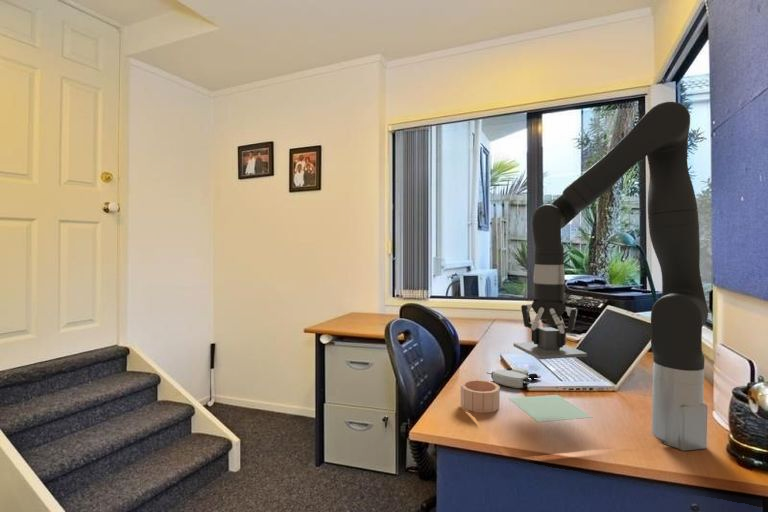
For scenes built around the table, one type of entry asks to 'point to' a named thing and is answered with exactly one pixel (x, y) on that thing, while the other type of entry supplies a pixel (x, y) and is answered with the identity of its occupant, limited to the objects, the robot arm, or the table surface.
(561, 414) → the mat
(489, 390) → the bowl
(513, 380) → the robot toy
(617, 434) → the table surface
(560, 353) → the lid
